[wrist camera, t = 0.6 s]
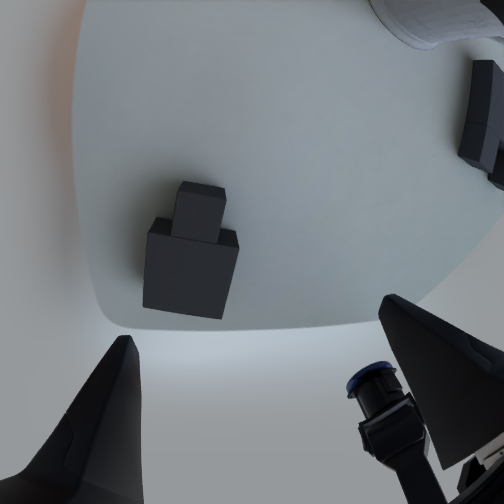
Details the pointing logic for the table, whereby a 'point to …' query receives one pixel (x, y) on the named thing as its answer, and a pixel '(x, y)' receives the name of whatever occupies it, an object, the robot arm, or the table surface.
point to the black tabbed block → (191, 255)
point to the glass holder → (441, 20)
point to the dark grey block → (485, 122)
